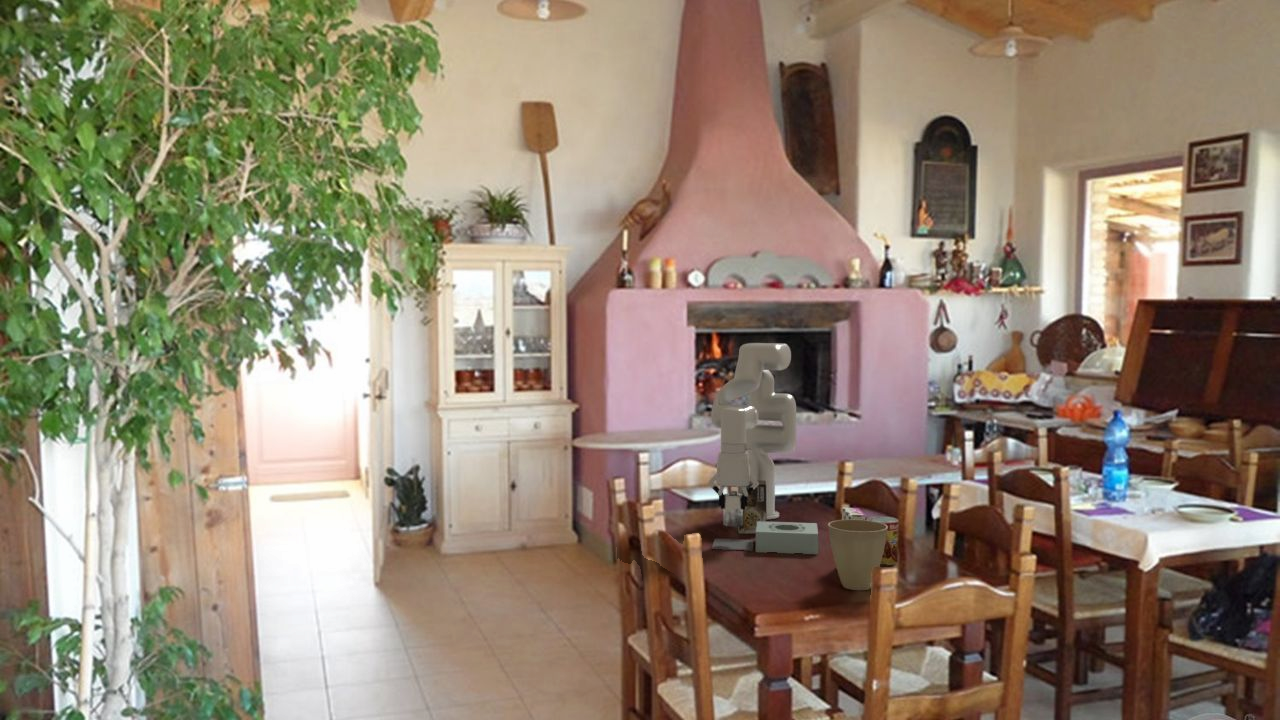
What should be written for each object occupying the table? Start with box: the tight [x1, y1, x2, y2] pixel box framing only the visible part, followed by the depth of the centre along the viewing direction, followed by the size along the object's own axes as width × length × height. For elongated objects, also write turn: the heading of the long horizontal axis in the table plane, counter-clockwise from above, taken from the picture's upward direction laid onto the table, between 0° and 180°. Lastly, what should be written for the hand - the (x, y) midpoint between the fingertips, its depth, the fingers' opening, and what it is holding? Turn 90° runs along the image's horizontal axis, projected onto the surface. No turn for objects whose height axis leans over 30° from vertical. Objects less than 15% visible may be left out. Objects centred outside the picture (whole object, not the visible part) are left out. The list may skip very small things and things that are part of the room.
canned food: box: [869, 515, 899, 566], centre depth 269 cm, size 8×8×12 cm
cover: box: [722, 490, 743, 528], centre depth 287 cm, size 6×6×10 cm
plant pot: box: [827, 519, 888, 591], centre depth 244 cm, size 15×15×16 cm
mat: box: [711, 538, 755, 552], centre depth 287 cm, size 12×12×1 cm
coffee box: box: [737, 480, 768, 534], centre depth 305 cm, size 9×6×16 cm
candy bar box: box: [841, 507, 868, 520], centre depth 259 cm, size 11×5×16 cm, turn 178°
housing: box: [755, 521, 819, 555], centre depth 285 cm, size 14×18×6 cm
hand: (733, 507), depth 287 cm, fingers closed on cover, 5 cm apart
